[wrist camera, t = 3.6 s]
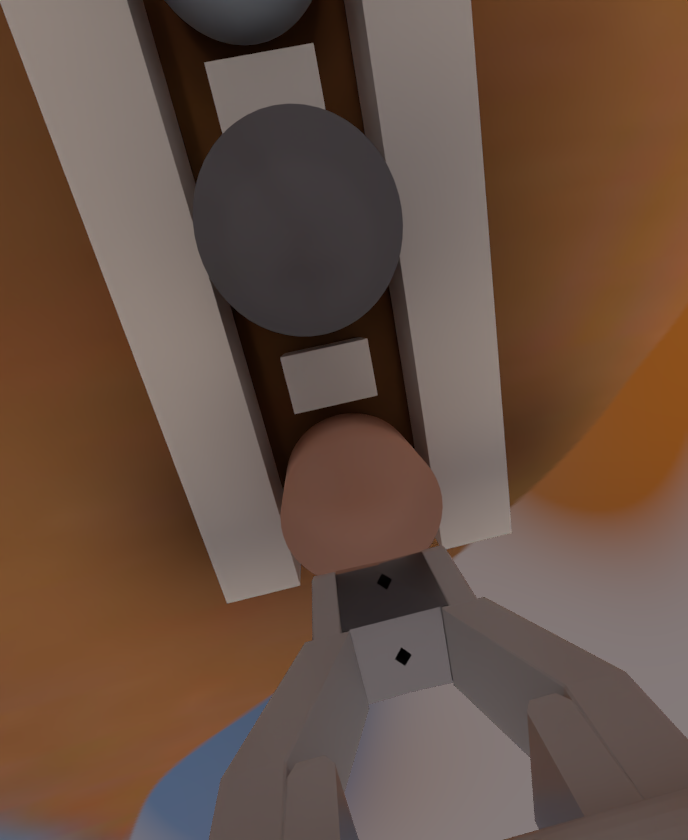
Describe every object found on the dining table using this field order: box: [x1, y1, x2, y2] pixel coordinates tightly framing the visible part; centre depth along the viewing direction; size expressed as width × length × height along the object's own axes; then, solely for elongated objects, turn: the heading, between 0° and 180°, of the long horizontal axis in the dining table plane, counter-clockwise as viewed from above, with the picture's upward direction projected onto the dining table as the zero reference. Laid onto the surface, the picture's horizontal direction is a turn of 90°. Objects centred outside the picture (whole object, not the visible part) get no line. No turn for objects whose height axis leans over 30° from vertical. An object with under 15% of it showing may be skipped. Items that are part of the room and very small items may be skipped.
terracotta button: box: [280, 413, 443, 576], centre depth 12 cm, size 5×5×3 cm
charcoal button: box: [193, 104, 403, 337], centre depth 10 cm, size 5×5×3 cm
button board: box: [0, 0, 512, 603], centre depth 12 cm, size 24×12×2 cm, turn 12°
